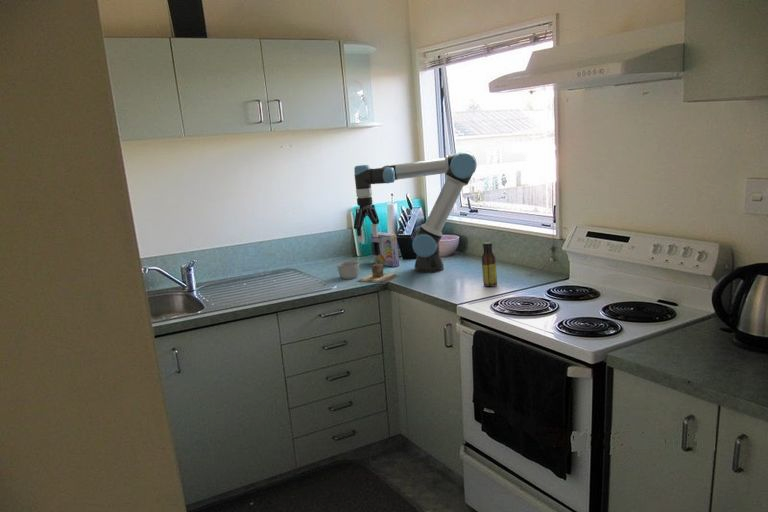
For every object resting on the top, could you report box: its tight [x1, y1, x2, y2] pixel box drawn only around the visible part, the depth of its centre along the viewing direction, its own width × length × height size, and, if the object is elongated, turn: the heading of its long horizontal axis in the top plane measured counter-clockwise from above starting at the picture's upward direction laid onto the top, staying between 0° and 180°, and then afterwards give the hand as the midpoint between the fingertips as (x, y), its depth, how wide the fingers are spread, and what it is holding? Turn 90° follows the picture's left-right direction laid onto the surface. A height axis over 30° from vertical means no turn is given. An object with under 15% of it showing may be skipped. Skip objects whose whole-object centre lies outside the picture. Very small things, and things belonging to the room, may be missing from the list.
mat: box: [356, 274, 400, 285], centre depth 287 cm, size 16×16×1 cm
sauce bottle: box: [481, 241, 498, 287], centre depth 259 cm, size 6×6×20 cm
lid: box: [359, 263, 396, 284], centre depth 286 cm, size 13×13×7 cm
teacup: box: [337, 260, 360, 280], centre depth 294 cm, size 14×11×8 cm
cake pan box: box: [370, 231, 400, 267], centre depth 316 cm, size 19×5×18 cm, turn 37°
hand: (368, 239), depth 287 cm, fingers open, 13 cm apart
